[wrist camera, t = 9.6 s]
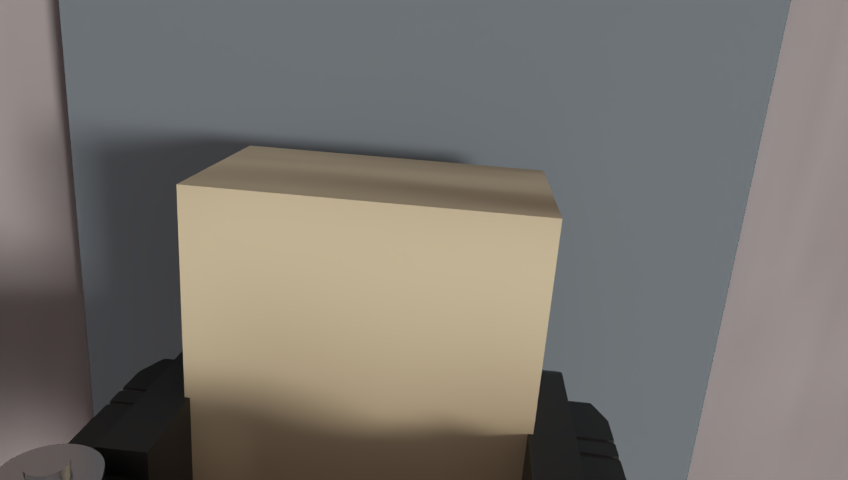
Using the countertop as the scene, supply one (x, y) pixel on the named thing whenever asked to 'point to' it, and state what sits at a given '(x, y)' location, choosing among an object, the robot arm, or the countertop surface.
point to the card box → (363, 315)
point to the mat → (445, 159)
